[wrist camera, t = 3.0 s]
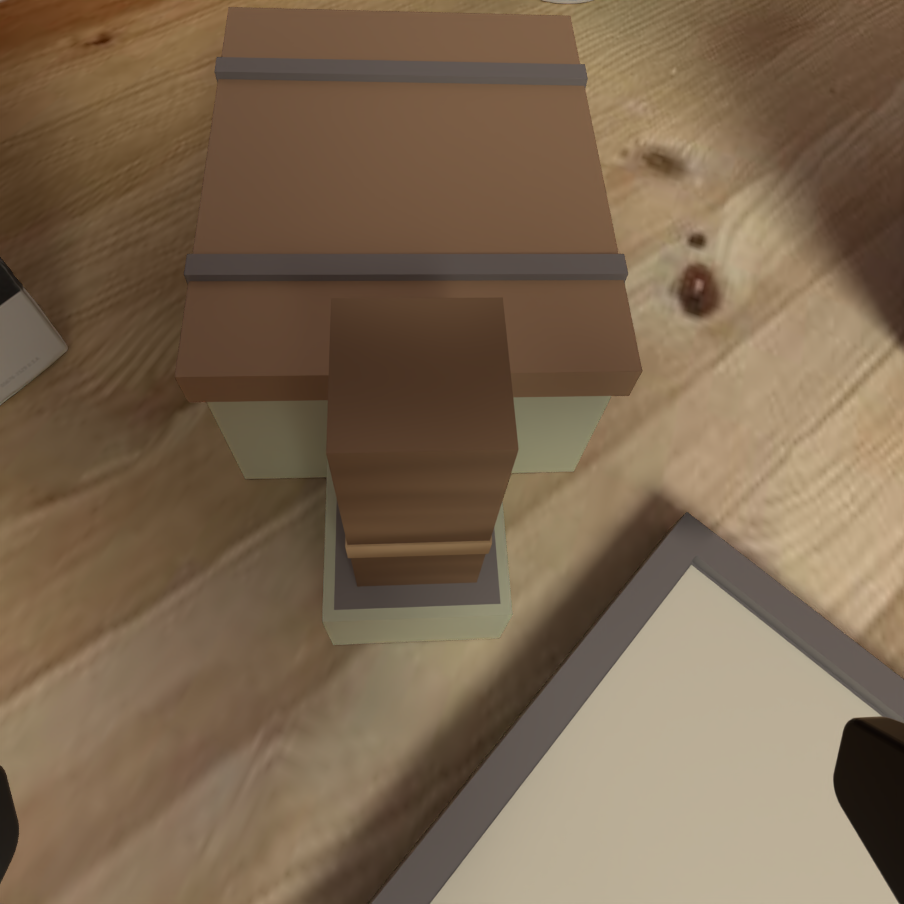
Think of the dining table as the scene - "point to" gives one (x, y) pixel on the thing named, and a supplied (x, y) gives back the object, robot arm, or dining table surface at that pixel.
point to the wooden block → (419, 434)
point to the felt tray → (671, 756)
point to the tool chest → (401, 250)
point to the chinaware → (567, 1)
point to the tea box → (23, 336)
